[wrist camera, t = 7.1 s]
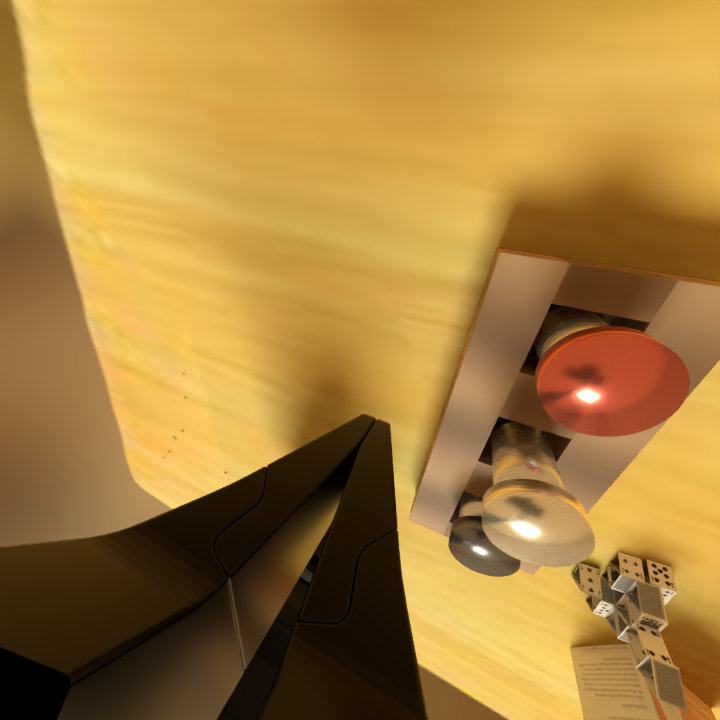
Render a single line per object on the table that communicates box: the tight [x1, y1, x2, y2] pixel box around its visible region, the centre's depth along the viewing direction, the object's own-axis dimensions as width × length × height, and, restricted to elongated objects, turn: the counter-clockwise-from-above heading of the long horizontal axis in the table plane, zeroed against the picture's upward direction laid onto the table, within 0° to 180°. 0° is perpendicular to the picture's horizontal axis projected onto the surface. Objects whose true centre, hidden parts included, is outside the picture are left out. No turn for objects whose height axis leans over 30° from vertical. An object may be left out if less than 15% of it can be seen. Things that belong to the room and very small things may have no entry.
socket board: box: [409, 248, 720, 575], centre depth 17 cm, size 20×9×4 cm, turn 173°
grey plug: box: [449, 491, 521, 577], centre depth 19 cm, size 4×4×6 cm
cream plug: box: [482, 422, 595, 567], centre depth 14 cm, size 4×4×6 cm
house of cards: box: [571, 552, 688, 712], centre depth 19 cm, size 9×9×8 cm
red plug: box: [533, 306, 690, 437], centre depth 12 cm, size 4×4×6 cm
